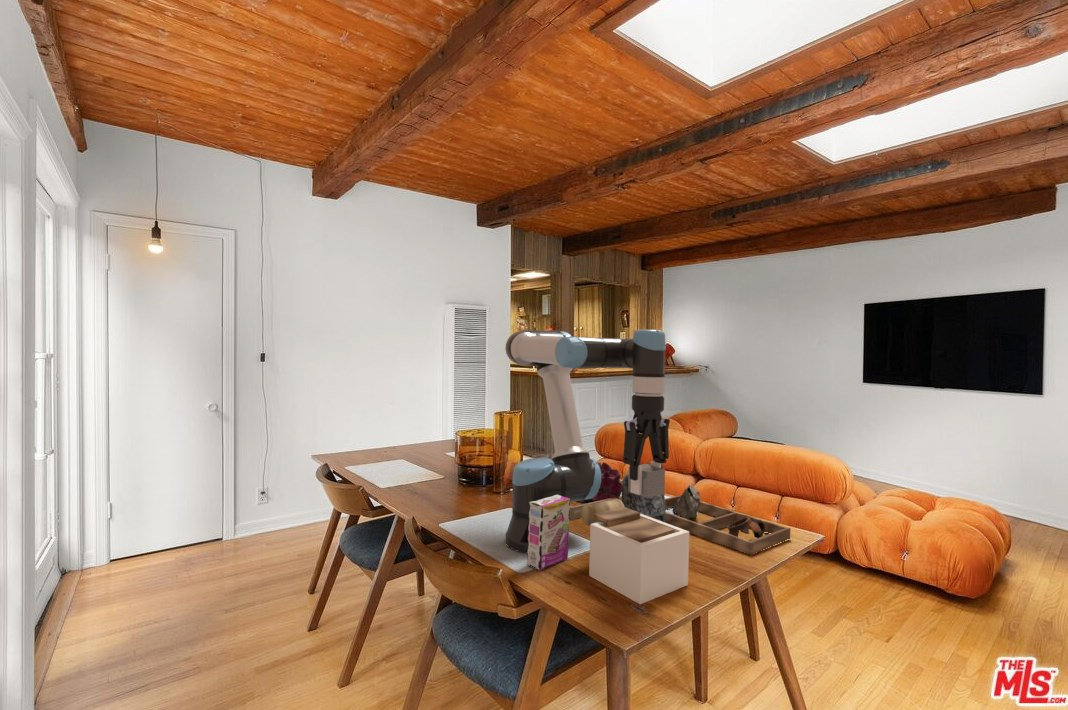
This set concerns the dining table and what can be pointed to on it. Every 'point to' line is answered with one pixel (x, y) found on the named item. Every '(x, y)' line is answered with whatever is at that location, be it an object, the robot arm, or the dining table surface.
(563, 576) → the dining table surface
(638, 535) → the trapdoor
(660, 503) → the stone block
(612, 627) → the dining table surface
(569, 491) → the robot arm
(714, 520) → the walnut tray
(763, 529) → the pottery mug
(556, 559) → the candy bar box
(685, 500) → the concrete fragment
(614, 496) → the flower arrangement
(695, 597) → the dining table surface
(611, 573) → the white open box
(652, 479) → the iron block
